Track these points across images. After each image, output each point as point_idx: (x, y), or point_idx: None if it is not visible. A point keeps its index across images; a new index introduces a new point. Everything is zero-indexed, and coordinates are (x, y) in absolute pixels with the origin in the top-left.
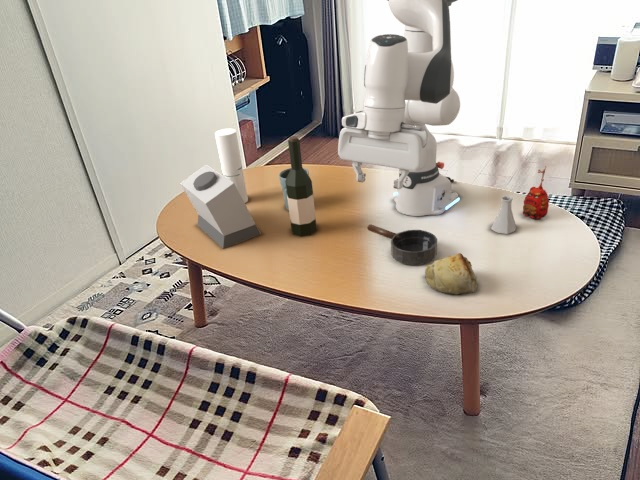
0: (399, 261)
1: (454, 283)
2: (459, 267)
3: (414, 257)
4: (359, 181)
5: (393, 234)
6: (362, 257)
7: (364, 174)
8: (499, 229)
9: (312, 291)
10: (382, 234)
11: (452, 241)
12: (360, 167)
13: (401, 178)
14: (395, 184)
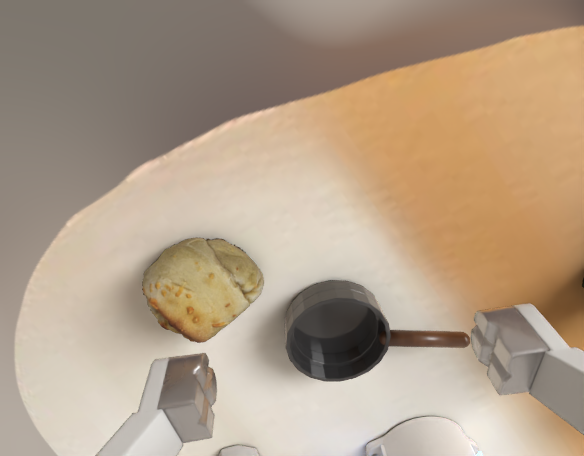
0: (340, 281)
1: (164, 260)
2: (164, 298)
3: (308, 299)
4: (501, 308)
5: (394, 339)
6: (425, 256)
7: (500, 380)
8: (236, 452)
9: (460, 73)
10: (421, 332)
11: (293, 389)
12: (581, 430)
13: (110, 443)
14: (182, 378)
